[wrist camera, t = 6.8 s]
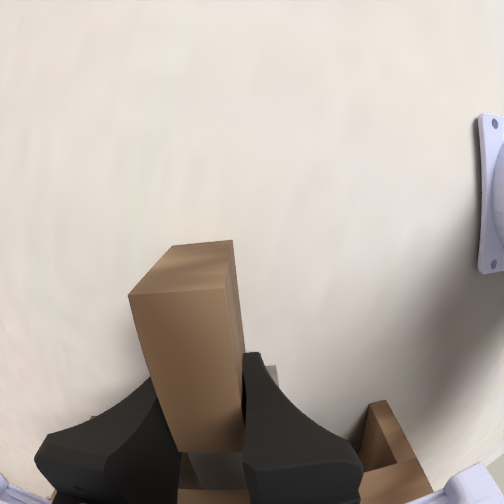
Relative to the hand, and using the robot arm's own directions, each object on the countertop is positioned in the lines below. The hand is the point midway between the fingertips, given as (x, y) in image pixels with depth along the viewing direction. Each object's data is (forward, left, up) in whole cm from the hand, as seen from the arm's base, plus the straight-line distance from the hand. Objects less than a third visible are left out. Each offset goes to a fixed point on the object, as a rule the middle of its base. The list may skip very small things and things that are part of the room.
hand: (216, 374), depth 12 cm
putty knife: (0, +6, -1) cm, 6 cm away
